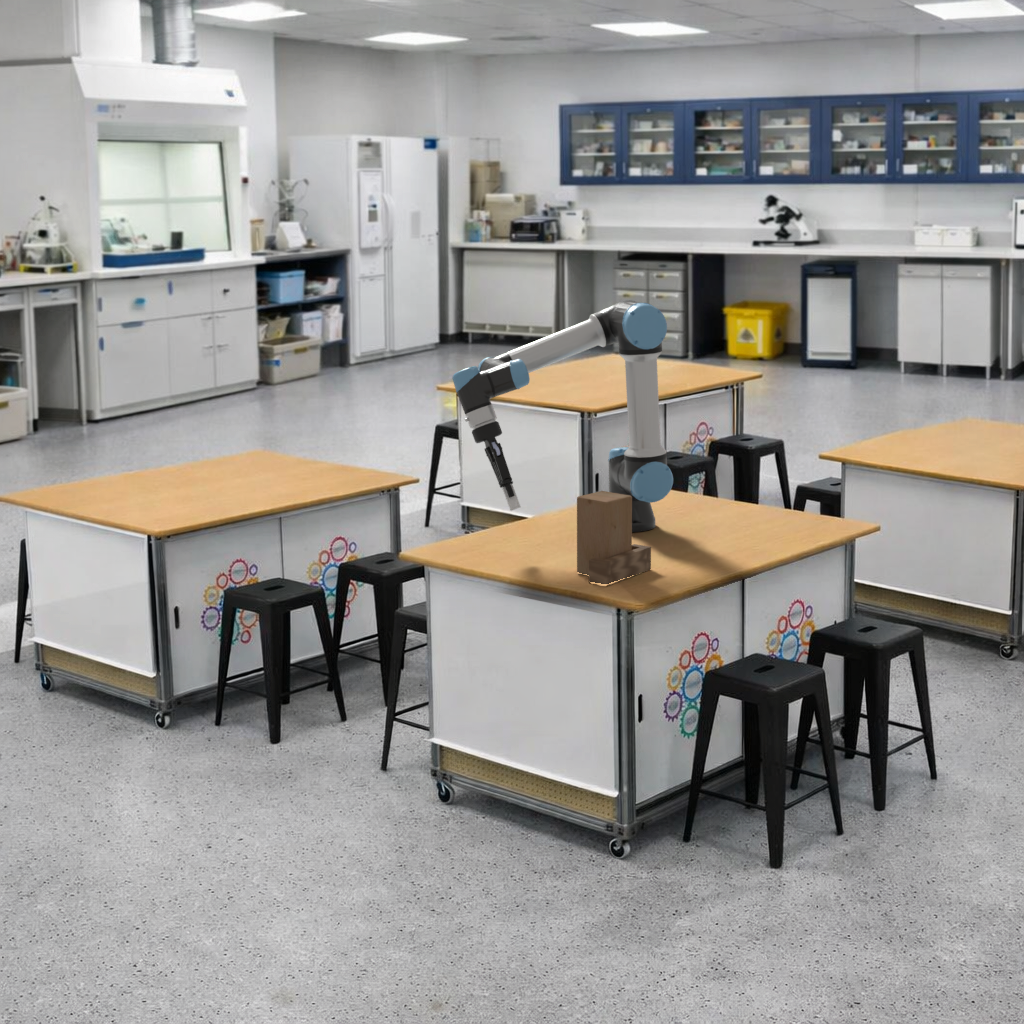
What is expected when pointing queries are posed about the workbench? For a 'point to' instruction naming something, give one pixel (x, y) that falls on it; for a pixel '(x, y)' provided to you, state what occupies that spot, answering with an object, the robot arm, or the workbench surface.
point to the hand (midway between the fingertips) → (515, 508)
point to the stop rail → (620, 565)
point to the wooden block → (602, 527)
